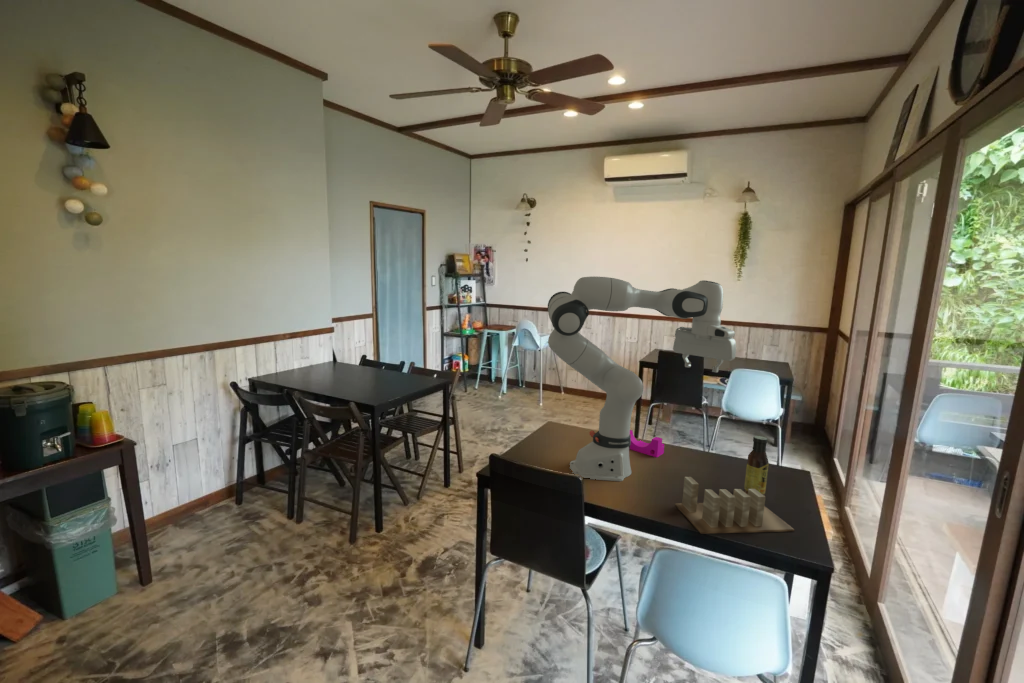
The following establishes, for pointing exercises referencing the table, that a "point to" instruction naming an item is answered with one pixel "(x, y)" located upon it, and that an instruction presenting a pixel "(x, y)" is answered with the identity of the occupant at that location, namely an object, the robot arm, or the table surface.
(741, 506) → the domino
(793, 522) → the table surface
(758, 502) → the domino
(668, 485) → the table surface
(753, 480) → the sauce bottle
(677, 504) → the board
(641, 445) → the toy block
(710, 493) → the domino
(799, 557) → the table surface
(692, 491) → the domino
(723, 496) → the domino
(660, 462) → the table surface
